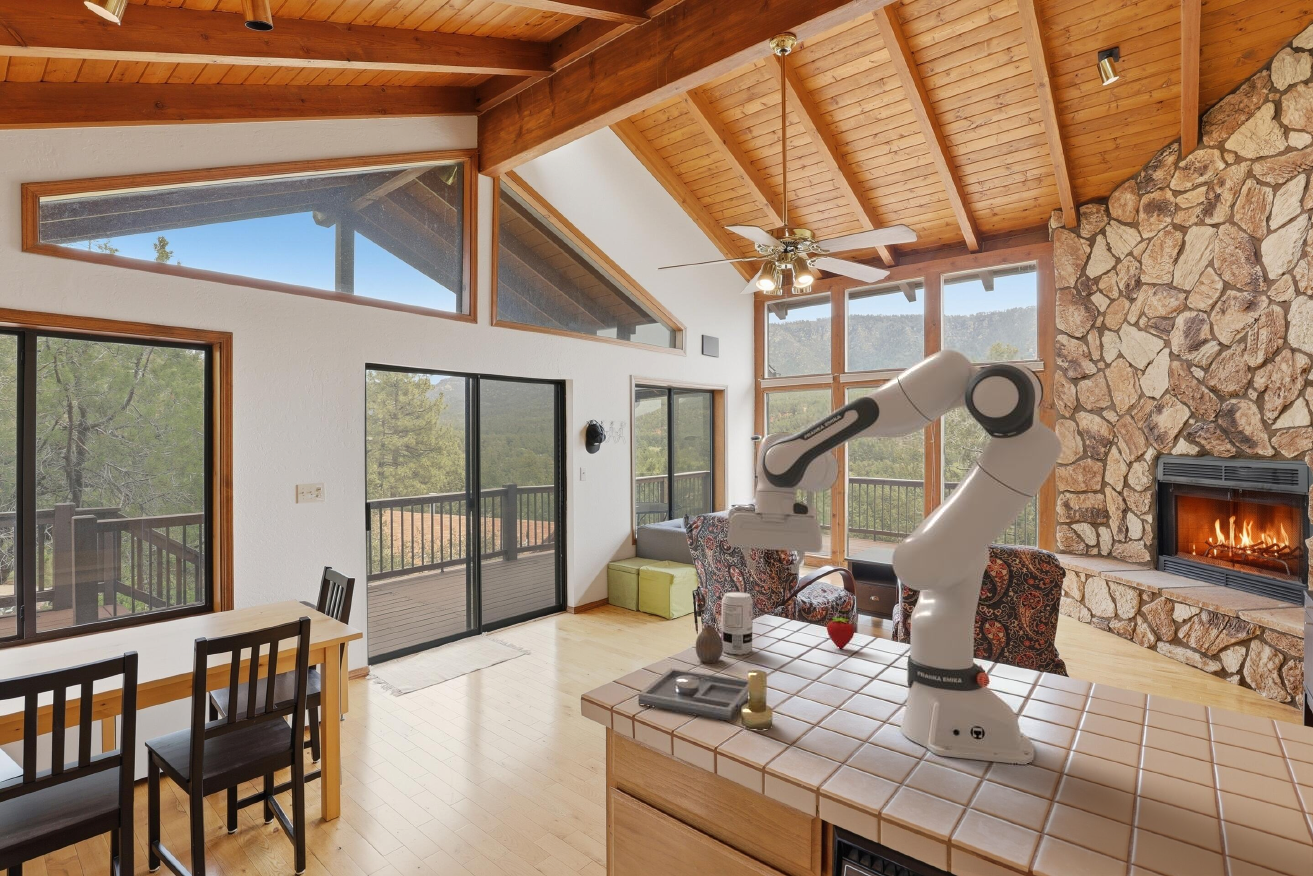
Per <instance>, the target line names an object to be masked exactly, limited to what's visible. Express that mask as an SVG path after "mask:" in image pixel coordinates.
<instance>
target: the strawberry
mask: <svg viewBox="0 0 1313 876" xmlns="http://www.w3.org/2000/svg"><path fill="white" fill-rule="evenodd" d="M832 619H833V620H830V621H829V622H828V623H827V624H826V625H827V626H826V631H827V635H828V637H829V638H830V639H831V642H833V644H834V646H836V647H839V648H843V649H844V648H845V647H846V645H848V644H849V643H850V642H851V641H852V639H853V638H854V635H855V628H854V627H855V626H854V625H853V624H851V623H849V622H850V620H849V619H847V618H843V617H840V612H838V617H832Z"/></svg>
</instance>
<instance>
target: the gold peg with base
mask: <svg viewBox="0 0 1313 876" xmlns="http://www.w3.org/2000/svg"><path fill="white" fill-rule="evenodd" d="M767 675H768V674H767V672H766V671H764V670H761V669H752V670H749V671H747V680H748V700H747V703H745V704H744V705H743V706H742V708H741V709H740V710H741V713H740V715H741V716H740V719H741V721H740V723H741V724H742V725H743V726H745V727H746V728H749V729H757V730H763V729H769V730H771V729H772V728H773V708H772V707H771V706H769V705H767V687H768V685H767V684H768V683H767V682H768V681H767V679H768V678H767ZM742 725H741V726H742ZM743 726H742V727H743ZM771 727H772V728H771ZM746 728H745V729H746ZM770 728H771V729H770ZM749 729H748V730H749Z"/></svg>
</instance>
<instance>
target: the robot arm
mask: <svg viewBox="0 0 1313 876" xmlns="http://www.w3.org/2000/svg"><path fill="white" fill-rule="evenodd" d="M1043 397H1044V387H1043V383H1042V380H1041V379H1040V377H1039V375H1037V373H1036V372H1035V371H1033V370H1032V369H1031V368H1029V367H1027V366H1024V365H1022V364H1019V363H1015V362H998V363H995V364H991V365H989V366H988V365H987V366H980V367H977V366H975V365H974V364H972V363H971V361H970V360H969V359H968V358H967V357H966V356H965V355H963V354H962V353H960V352H959V351H956V350H953V349H942V350H939V351H937V352H935V353H932V354H931V355H928V356H927V357H925V358H923V359H921V360H919V361H917V362H916V363H914V364H912V365H911V366H909V367H907V368H906V369H903V371H902V372H900V373H898V374H897V375H896V376H894V377H893V378H891V379H889V380H888V381H887V382H885V383H884V384H882V385H881V386H879V387H877V388H875V389H874V390H872V391H870V392H869V393H867V394H865V395H862V396H861V397H859V398H857V399H855V400H852V401H850V402H849V403H846V404H844V405H843V406H841V407H839V408H837V409H836V410H834V411H833V412H831V413H829V414H828V415H825V416H824V417H822V418H821V419H819V420H817V421H816V422H814V423H813V424H811V425H809V426H808V427H806V428H804V429H803V430H800V431H799V432H796V433H794V434H793V433H792V432H784V431H783V432H781V431H780V432H773V433H770V434H767V435H765V436H764V437H763V438H762V439H761V440H760V441H761V442H760V443H759V448H758V452H757V459H756V461H757V462H756V476H757V486H756V490H755V498H754V499H755V503H754V505H735V506H734V507H732V508H730V509H729V511H728V518H727V519H728V524H729V526H728V530H727V531H728V532H727V538H726V539H727V541H726V542H727V544H728V545H729V546H730V548H740V549H741V548H742V554H743V556H744V559H745V560H746V562H747V565H746V569H747V570H749V571H751V570H752V571H756V565H757V564H756V561H752V558H751V556H750V554H751V553H752V549H757V550H760V549H761V550H775V551H787V552H788V551H789V552H796V557H798V559H797V561H796V562H795V564H790V565H791V566H790V568H791V570H790V574H800V565H801V564H802V563H803V561H804V559H805V558H806V553H815V554H817V553H820V552H821V551H822V550H823V534H822V528H821V524H820V522H819V520H817V519H816V517H817V516H818V515H817V514H818V510H817V508H816V507H814V505H810V504H808V503H805V502H803V501H799V500H798V499H797V492H798V491H807V492H811V493H820V492H825V491H828V490H831V488H832V487H833V486H834V485H835V483H836V482H837V480H838V477H839V474H840V473H839V471H840V466H839V461H838V459H837V457H836V455H834V453H833V452H832V451H834V450H836V449H837V448H839V447H841V446H842V445H845V444H846V443H849V442H850V441H853V440H857V439H863V438H877V437H879V438H880V437H881V438H903V437H907V436H909V435H911V434H914V433H916V432H919V431H921V430H923V429H924V428H926V427H927V426H930V424H932V423H934V422H935V421H937V420H939V419H940V418H941V417H943V416H944V415H946V414H948V413H949V412H951V411H954V410H955V409H959V408H966V409H967V411H968V412H969V414H970V415H971V416H972V417H973V419H974V420H975V421H976V422H977V423H978V424H979V425H980V426H981V427H982V428H983V429H984V431H985V432H986V433H987V434H988V435H989V436H990V440H989V442H988V444H987V446H986V447H985V448H984V450H983V451H982V452H981V454H980V455H979V456H978V457H977V459H976V460H975V462H974V463H973V464H972V466H971V467H970V469H968V471H967V472H966V473H965V475H964V476H963V478H962V479H961V480H960V482H959V483H958V484H957V485H956V487H955V488H954V489H953V491H952V492H951V493H950V494H949V495H948V496H947V497H946V498H945V500H943V501H942V503H940V504H939V505H938V506H937V507H936V508H935V509H934V510H933V511H932V512H931V513H930V514H929V515H928V516H927V517H926V518H925V519H924V520H923V521H922V522H921V523H920V524H919V525H918V526H917V527H916V528H915V529H914V530H913V531H912V533H911V534H909V535H908V536H907V537H906V538H904V539H903V540H902V541H901V542H900V543H898V544H897V546H896V547H895V549H894V551H893V553H892V558H891V559H892V561H891V564H892V569H893V572H894V574H895V576H896V577H897V579H898V580H899V581H900V582H901V583H902V584H903V585H904V586H906V587H907V588H910V589H912V590H914V591H919V595H918V598H917V602H916V603H915V607H914V608H913V609H912V612H911V614H910V636H909V637H910V645H909V647H910V651H909V653H910V654H909V655H908V657H907V661H906V682H907V687H908V692H907V700H906V706H905V711H904V715H903V718H902V722H901V724H900V727H899V728H900V731H901V733H902V734H903V735H904V736H905V737H906V738H907V739H909V740H910V741H912V742H915V743H916V744H919V745H921V746H923V747H925V748H927V749H928V750H929V751H930V752H931V753H933V754H935V755H938V756H941V757H949V758H950V757H951V758H959V759H968V760H976V761H977V760H978V761H988V762H995V763H1007V764H1014V763H1015V765H1016V763H1017V765H1028V764H1027V763H1029V762H1031V761H1032V760H1033V761H1034V759H1035V749H1034V744H1033V742H1032V741H1031V739H1030V738H1029V737H1028V736H1027V735H1026V734H1024V732H1021V730H1020V729H1021V728H1020V725H1019V720H1018V718H1017V715H1016V713H1015V711H1014V710H1013V709H1012V707H1011V706H1010V705H1009V703H1007V702H1005V701H1004V700H1003V699H1002V698H1001V697H999V696H998V695H997V694H995V693H994V692H993V691H992V690H991V689H990V688H989V687H988V686H989V685H990V682H991V680H990V678H989V675H988V674H987V673H986V670H985V669H983V666H982V664H979V665H978V664H977V663H975V662H974V655H975V654H974V653H975V652H974V646H975V645H974V644H975V643H974V641H975V640H974V639H975V637H974V636H975V635H974V634H975V620H976V616H977V615H976V613H977V608H978V604H979V600H980V593H981V591H982V583H983V578H984V573H985V571H986V568H987V567H988V564H989V562H990V551H989V546H990V545H991V544H993V543H994V542H995V541H996V540H997V539H998V538H999V537H1000V536H1002V534H1004V533H1005V532H1007V530H1009V528H1010V527H1011V525H1012V524H1013V523H1014V522H1015V520H1016V519H1017V518H1018V517H1019V516H1020V514H1021V513H1022V512H1023V511H1024V509H1025V508H1026V507H1027V506H1028V504H1029V503H1030V502H1031V501H1032V500H1033V498H1035V496H1036V494H1037V493H1038V492H1039V491H1040V490H1041V488H1042V487H1043V485H1044V484H1045V483H1046V481H1047V479H1048V478H1049V476H1050V474H1052V472H1053V469H1054V468H1055V466H1056V464H1057V462H1058V460H1059V458H1060V456H1061V454H1062V449H1063V445H1062V441H1061V440H1060V437H1059V436H1058V435H1057V434H1056V432H1054V430H1053V429H1051V428H1050V427H1048V425H1046V424H1043V423H1042V422H1041V421H1040V420H1039V418H1038V414H1037V412H1038V409H1039V407H1040V405H1041V404H1042V401H1043ZM1033 758H1034V759H1033ZM1033 761H1032V762H1033ZM1032 762H1031V763H1032ZM1029 764H1030V763H1029Z"/></svg>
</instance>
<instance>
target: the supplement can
mask: <svg viewBox="0 0 1313 876" xmlns="http://www.w3.org/2000/svg"><path fill="white" fill-rule="evenodd" d="M753 602H754V600H753V599H752V595H751V594H750V593H748V592H743V591H728V592H724V593H723V596H722V599H721V620H720V621H721V627H720V628H721V629H720V631H721V632H720V637H721V639H722V643H723V652H724V653H726V654H728V653H729V655H733V654H738V655H737V656H743V655H742V654H745V655H748V654H750V653H751V651H752V650H753V623H754V620H753V618H754V617H753V612H754V611H753V609H754V605H753V604H754V603H753ZM749 652H750V653H749ZM747 653H748V654H747Z"/></svg>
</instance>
